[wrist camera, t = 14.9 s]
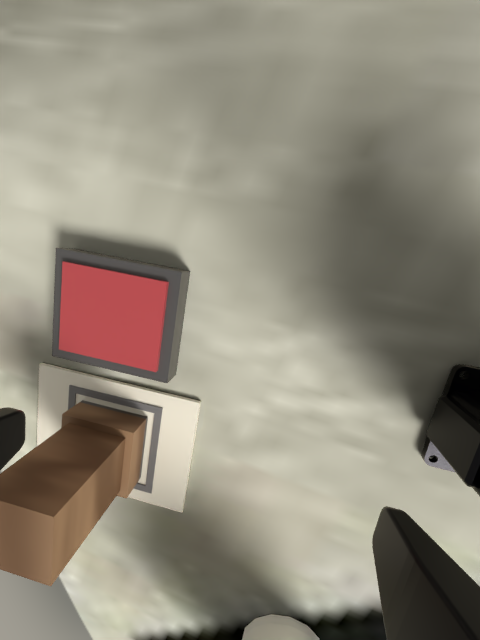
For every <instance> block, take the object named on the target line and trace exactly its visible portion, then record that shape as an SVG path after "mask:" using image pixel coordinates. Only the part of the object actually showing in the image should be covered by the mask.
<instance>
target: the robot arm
mask: <svg viewBox="0 0 480 640" xmlns="http://www.w3.org/2000/svg"><path fill="white" fill-rule="evenodd" d="M462 371H465V374H464V376H462V377H460V373H461V372H462ZM427 436H428V437H427V440H426V442H425V445H424V448H423V451H422V455H421V456H422V458H423V460H424V461H425V463H426V464H427V465H429V466H432V467H437V468H441V469H445V470H449V471H453V472H456V473H457V474H458V475H459V477H460V478H461V479H462V480H463V482H464V483H465V484H466V485H467V486H469V487H472V488H473V489H474V490H475V491H476V492H477V494H478V495H479V496H480V368H478V367H473V366H468V365H464V364H459V365H456V366H455V367H453V369H452V370H451V373H450V376H449V378H448V381H447V384H446V387H445V389H444V392H443V395H442V397H440V398H439V400H438V403H437V405H436V408H435V411H434V414H433V417H432V419H431V422H430V425H429V428H428V431H427ZM24 441H25V414H24V412H23V411H21V410H17V409H13V408H2V409H0V470H1V469H2V468H3V467H4V466H5V465H6V464H7V463H8V462H9V461H10V459H11V458H12V457H13V456H14V455H15V454H16V453H17V452H18V451H19V450H20V449H21V447H22V446H23V444H24ZM432 455H435V456H434V457H433V458H429V457H430V456H432ZM372 544H373V553H374V559H375V566H376V573H377V579H378V586H379V592H380V599H381V606H382V612H383V619H384V625H385V630H386V636H387V640H480V586H479V585H478V584H477V583H476V582H475V581H474V580H473V579H472V578H471V577H470V576H469V575H468V574H467V573H466V572H465V571H464V570H463V569H462V568H461V567H460V566H459V565H458V564H457V563H456V562H455V561H454V560H453V559H452V558H451V557H450V556H449V555H448V554H447V553H446V552H445V551H444V550H443V549H442V548H441V547H440V546H439V545H438V544H437V543H436V542H435V541H434V540H433V539H432V538H431V537H430V536H429V535H428V534H427V533H426V532H425V531H424V530H423V529H422V528H421V527H420V526H419V525H418V524H417V523H416V522H415V521H414V520H413V519H412V518H411V517H410V516H409V515H408V514H407V513H405V512H404V511H402V510H399V509H395V508H391V507H384V508H383V509H382V511H381V513H380V516H379V519H378V522H377V525H376V528H375V531H374V534H373V541H372Z"/></svg>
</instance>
